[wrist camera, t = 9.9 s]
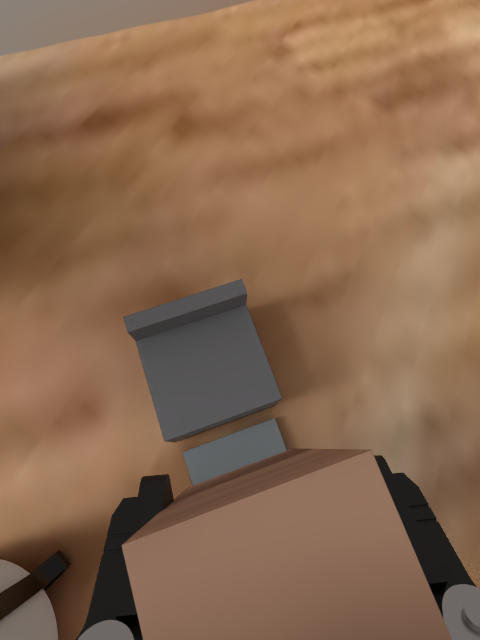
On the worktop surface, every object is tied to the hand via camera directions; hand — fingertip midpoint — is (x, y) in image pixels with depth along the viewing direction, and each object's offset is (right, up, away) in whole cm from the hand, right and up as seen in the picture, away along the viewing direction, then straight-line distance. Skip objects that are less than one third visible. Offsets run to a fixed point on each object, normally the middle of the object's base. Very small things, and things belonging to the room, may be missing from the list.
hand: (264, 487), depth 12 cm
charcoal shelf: (-3, 0, +23) cm, 23 cm away
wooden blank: (0, -3, +4) cm, 5 cm away
